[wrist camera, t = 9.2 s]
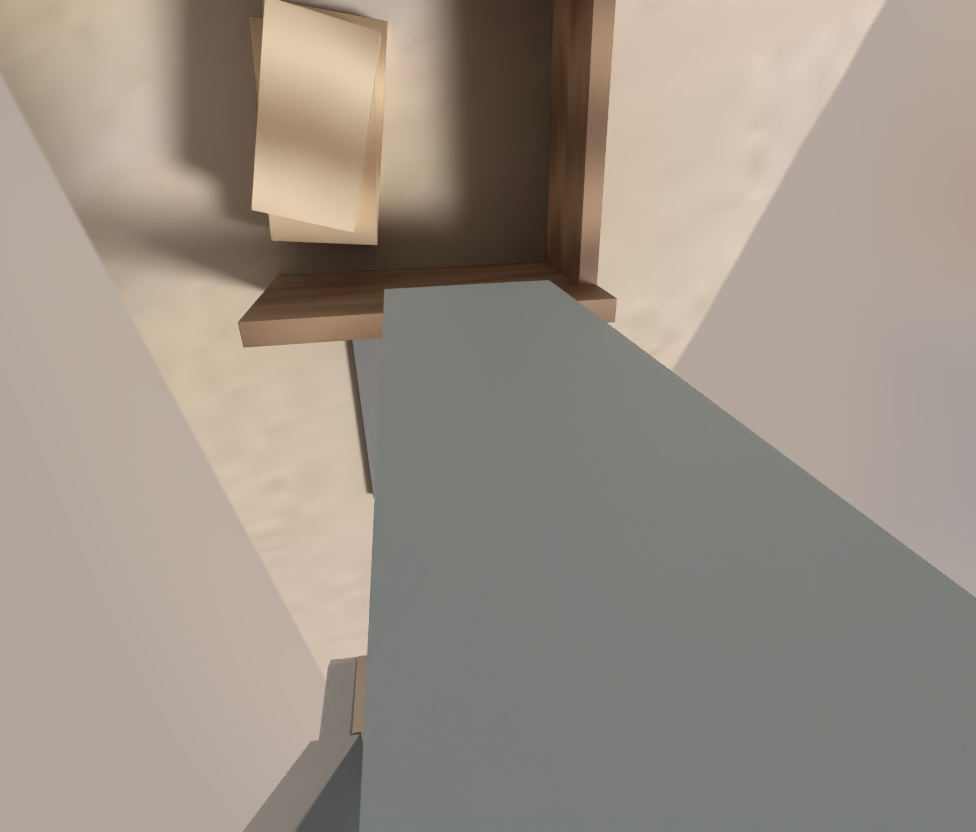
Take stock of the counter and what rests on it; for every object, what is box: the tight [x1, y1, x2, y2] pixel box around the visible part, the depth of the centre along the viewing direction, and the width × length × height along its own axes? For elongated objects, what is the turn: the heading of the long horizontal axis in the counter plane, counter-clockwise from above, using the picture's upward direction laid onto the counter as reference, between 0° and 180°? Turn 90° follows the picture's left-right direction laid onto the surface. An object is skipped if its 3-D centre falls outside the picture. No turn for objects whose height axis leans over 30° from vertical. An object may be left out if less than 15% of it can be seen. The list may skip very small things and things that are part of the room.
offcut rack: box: [238, 0, 617, 347], centre depth 27 cm, size 17×18×10 cm
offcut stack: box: [249, 0, 387, 245], centre depth 29 cm, size 11×6×5 cm, turn 172°
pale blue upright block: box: [359, 280, 976, 832], centre depth 11 cm, size 12×4×15 cm, turn 1°
